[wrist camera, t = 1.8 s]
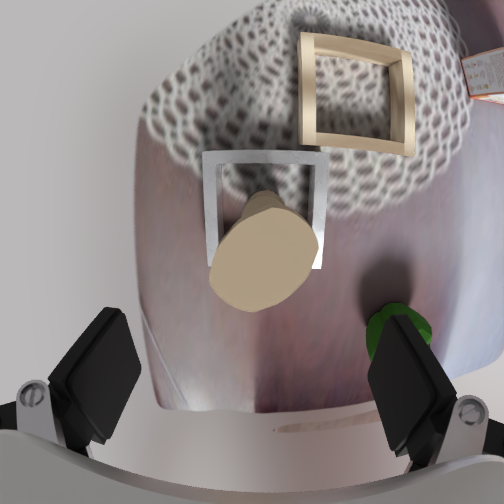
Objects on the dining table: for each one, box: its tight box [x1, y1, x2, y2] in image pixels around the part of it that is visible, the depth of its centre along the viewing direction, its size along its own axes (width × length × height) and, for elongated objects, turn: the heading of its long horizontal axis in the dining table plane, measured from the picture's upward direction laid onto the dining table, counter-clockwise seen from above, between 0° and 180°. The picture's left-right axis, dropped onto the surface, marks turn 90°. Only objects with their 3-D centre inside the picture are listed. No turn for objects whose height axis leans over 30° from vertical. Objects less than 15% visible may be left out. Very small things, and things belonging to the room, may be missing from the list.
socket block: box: [202, 149, 329, 268], centre depth 27 cm, size 11×11×4 cm
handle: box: [209, 189, 319, 312], centre depth 21 cm, size 5×6×15 cm
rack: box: [297, 32, 415, 157], centre depth 22 cm, size 11×11×4 cm
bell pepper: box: [366, 303, 432, 362], centre depth 29 cm, size 8×8×10 cm
